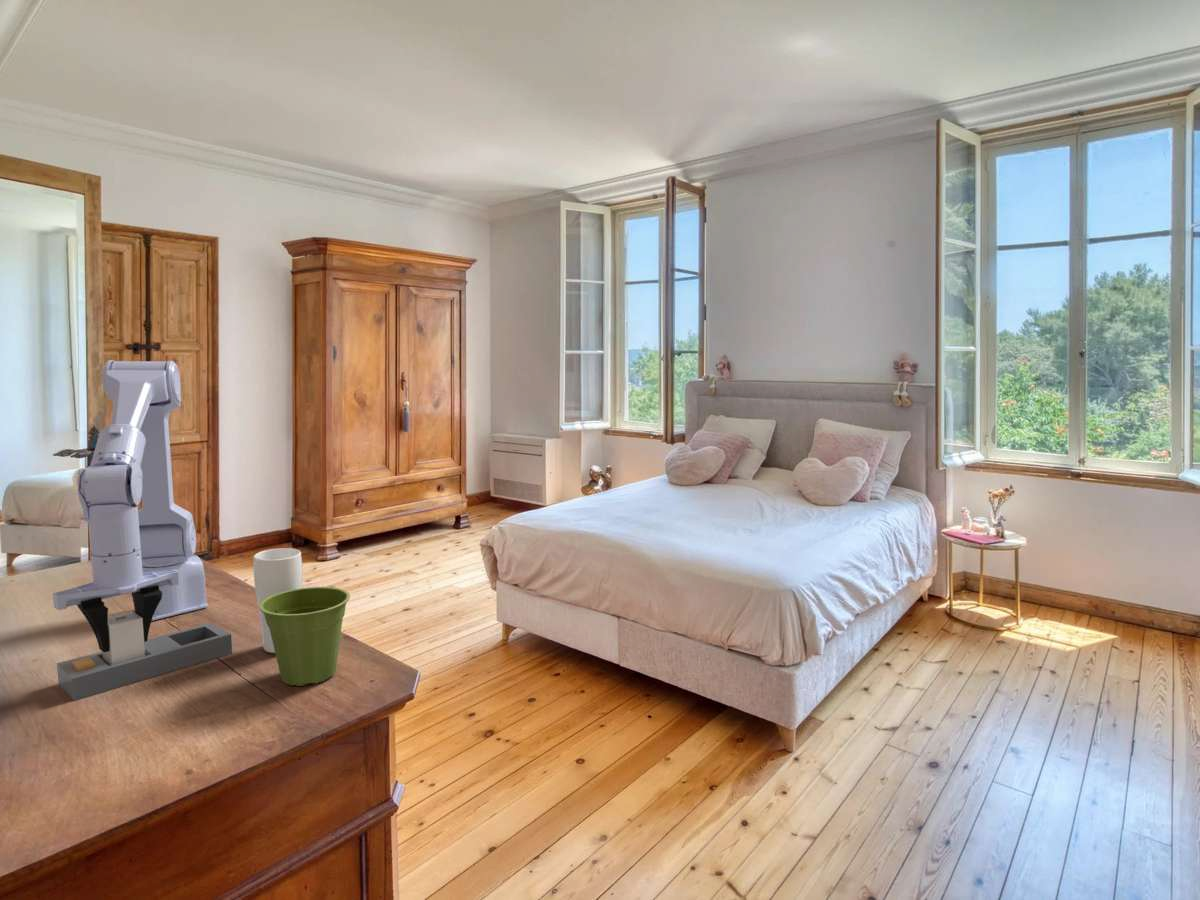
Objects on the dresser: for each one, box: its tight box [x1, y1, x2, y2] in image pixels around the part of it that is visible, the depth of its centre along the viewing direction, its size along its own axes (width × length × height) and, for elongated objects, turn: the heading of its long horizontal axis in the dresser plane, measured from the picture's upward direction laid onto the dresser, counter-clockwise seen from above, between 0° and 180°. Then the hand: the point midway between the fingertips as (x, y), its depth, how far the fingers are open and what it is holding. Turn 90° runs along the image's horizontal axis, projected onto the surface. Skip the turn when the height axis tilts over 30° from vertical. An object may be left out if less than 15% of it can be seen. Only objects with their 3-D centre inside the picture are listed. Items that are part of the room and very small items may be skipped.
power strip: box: [56, 622, 233, 701], centre depth 103 cm, size 20×7×4 cm, turn 140°
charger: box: [103, 610, 145, 666], centre depth 100 cm, size 4×4×6 cm
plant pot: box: [259, 586, 351, 687], centre depth 101 cm, size 12×12×11 cm
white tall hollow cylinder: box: [253, 547, 304, 654], centre depth 110 cm, size 7×7×15 cm
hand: (123, 644), depth 100 cm, fingers closed on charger, 4 cm apart
